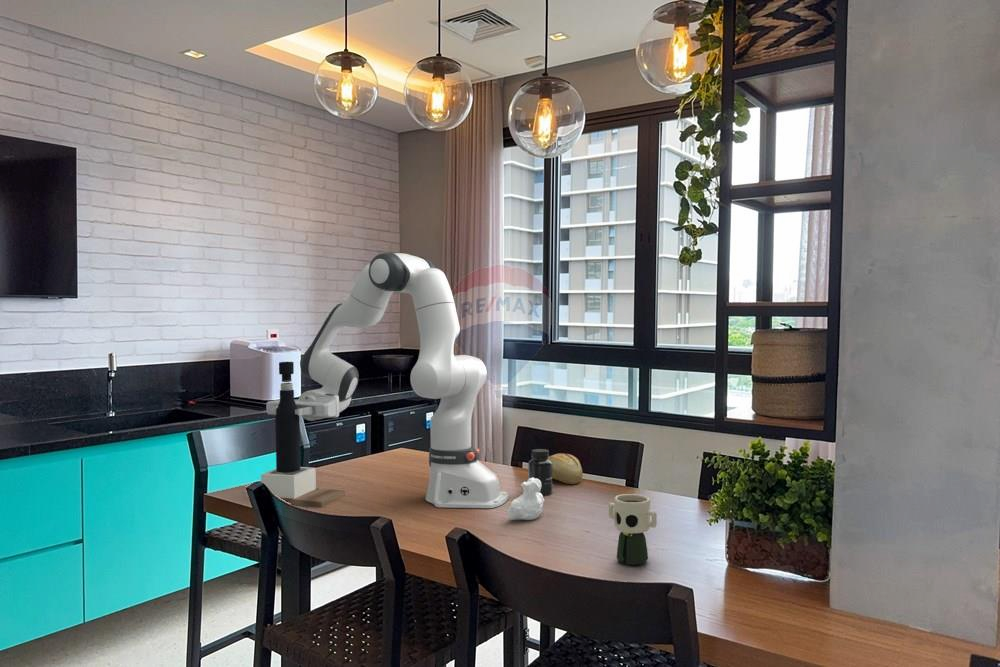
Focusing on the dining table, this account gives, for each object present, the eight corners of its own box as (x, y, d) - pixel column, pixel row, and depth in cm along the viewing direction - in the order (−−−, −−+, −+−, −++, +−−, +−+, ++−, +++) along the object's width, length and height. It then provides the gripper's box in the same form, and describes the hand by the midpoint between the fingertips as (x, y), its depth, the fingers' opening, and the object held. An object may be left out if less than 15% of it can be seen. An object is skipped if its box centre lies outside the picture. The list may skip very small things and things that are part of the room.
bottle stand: (345, 495, 195) (344, 469, 195) (321, 507, 184) (321, 479, 183) (283, 491, 201) (282, 465, 201) (257, 502, 190) (256, 474, 189)
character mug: (599, 560, 143) (599, 497, 142) (618, 551, 148) (618, 490, 147) (647, 573, 135) (647, 506, 135) (665, 562, 141) (664, 499, 140)
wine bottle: (281, 474, 189) (279, 363, 188) (272, 469, 194) (270, 362, 193) (304, 470, 193) (302, 362, 192) (294, 466, 198) (292, 360, 197)
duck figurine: (513, 533, 167) (535, 501, 163) (494, 509, 171) (515, 477, 166) (543, 521, 177) (565, 491, 172) (524, 499, 180) (545, 468, 175)
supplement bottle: (553, 496, 192) (552, 452, 192) (528, 496, 192) (528, 453, 192) (552, 489, 199) (551, 447, 199) (528, 489, 199) (527, 448, 199)
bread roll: (555, 473, 219) (555, 448, 219) (591, 482, 208) (591, 455, 207) (533, 478, 213) (533, 452, 213) (568, 487, 201) (568, 460, 201)
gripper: (282, 393, 208) (253, 399, 195) (343, 395, 202) (317, 401, 189) (283, 414, 208) (253, 421, 195) (343, 417, 202) (317, 425, 189)
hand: (285, 412), depth 192 cm, fingers closed on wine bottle, 6 cm apart
